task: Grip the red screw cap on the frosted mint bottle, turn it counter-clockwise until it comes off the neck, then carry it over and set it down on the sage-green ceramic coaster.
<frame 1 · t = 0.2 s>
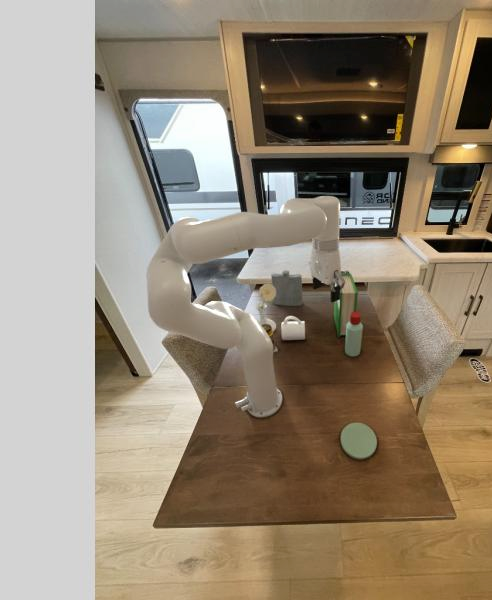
hand: (325, 294, 84), 37 cm above the table, tool pointing down, fingers open, 9 cm apart
bottle: (352, 351, 115), on the table
cap: (355, 315, 104), point 19 cm above the table, screwed on, not yet turned
flower in vase: (266, 330, 127), on the table
hip flask: (288, 304, 147), on the table
condiment: (266, 349, 116), on the table
coaster: (358, 440, 81), on the table
mug: (294, 337, 122), on the table
hardback book: (343, 325, 130), on the table
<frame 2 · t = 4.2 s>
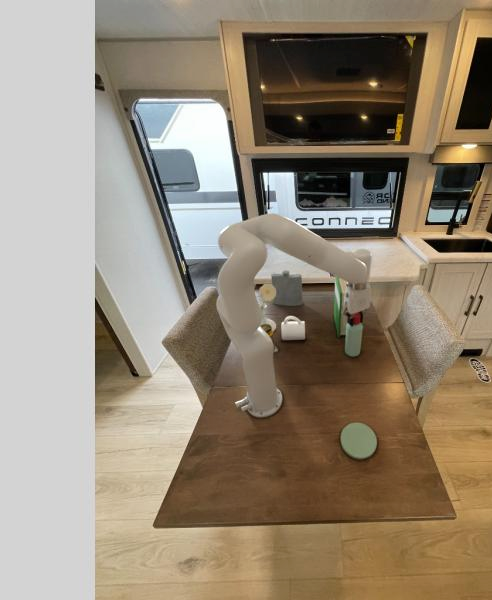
hand: (354, 322, 106), 16 cm above the table, tool pointing down, fingers closed on cap, 3 cm apart
cap: (355, 315, 104), point 19 cm above the table, screwed on, not yet turned, touching gripper
everything else where it was.
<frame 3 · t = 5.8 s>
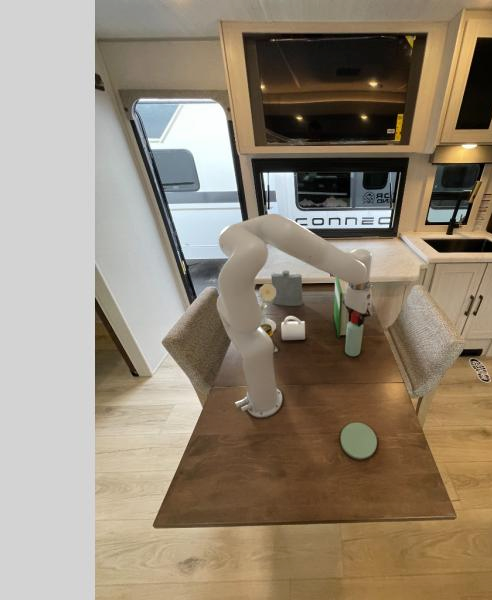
hand: (356, 322, 107), 15 cm above the table, tool pointing down, fingers closed on cap, 3 cm apart
bottle: (352, 351, 115), on the table, touching gripper
cap: (356, 314, 105), point 19 cm above the table, turned 107° so far, risen 0.1 cm, still on its thread, touching gripper
everything else where it was.
when the fingers open (15 cm above the table, at t = 7.6 s): cap stays where it is, point 19 cm above the table.
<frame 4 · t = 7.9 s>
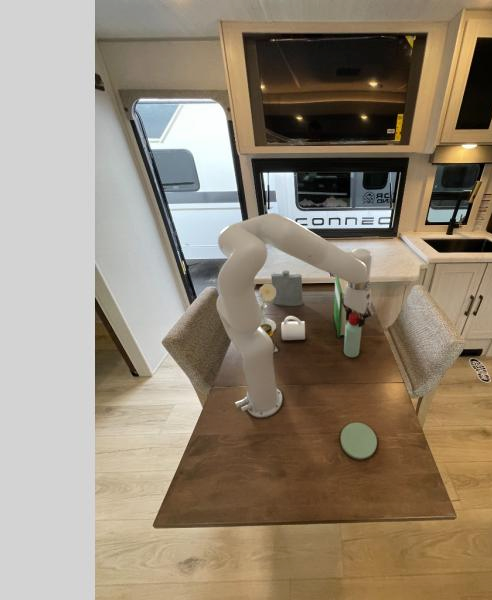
hand: (354, 321, 106), 16 cm above the table, tool pointing down, fingers open, 5 cm apart
bottle: (351, 351, 114), on the table
cap: (354, 315, 104), point 19 cm above the table, turned 107° so far, risen 0.1 cm, still on its thread
everything else where it was.
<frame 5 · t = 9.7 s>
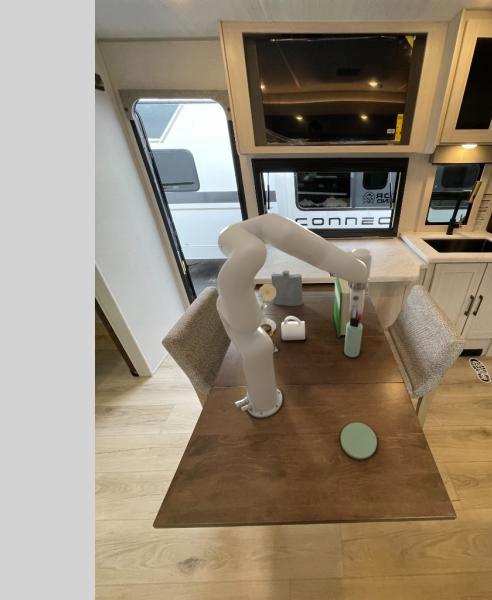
hand: (354, 322, 106), 16 cm above the table, tool pointing down, fingers closed on cap, 4 cm apart
cap: (355, 314, 104), point 19 cm above the table, turned 152° so far, risen 0.2 cm, still on its thread, touching gripper
everything else where it was.
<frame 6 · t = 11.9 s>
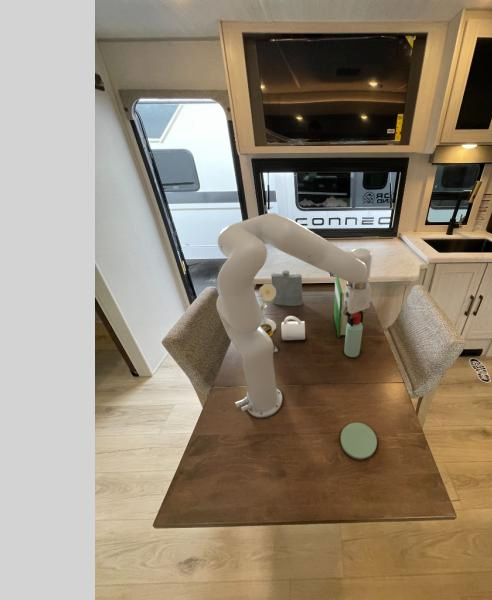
hand: (354, 322, 106), 16 cm above the table, tool pointing down, fingers closed on cap, 3 cm apart
cap: (356, 315, 104), point 19 cm above the table, turned 213° so far, risen 0.2 cm, still on its thread, touching gripper
everything else where it was.
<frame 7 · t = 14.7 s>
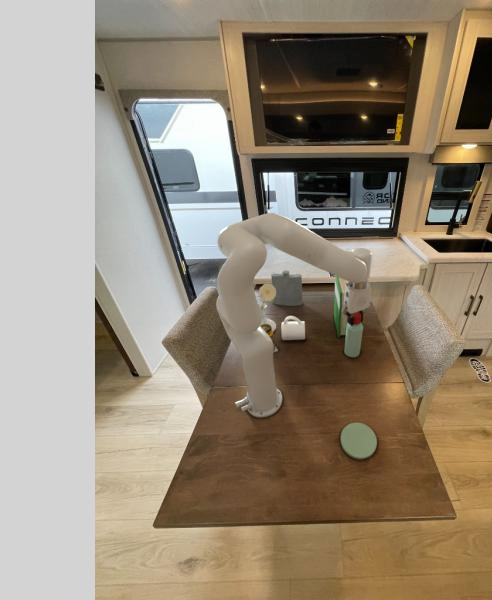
hand: (354, 321, 106), 16 cm above the table, tool pointing down, fingers closed on cap, 4 cm apart
cap: (356, 315, 104), point 20 cm above the table, turned 318° so far, risen 0.3 cm, still on its thread, touching gripper
everything else where it was.
when the fingers open (3 cm above the table, at t = 23.5 s): cap drops 2 cm, resting on coaster.
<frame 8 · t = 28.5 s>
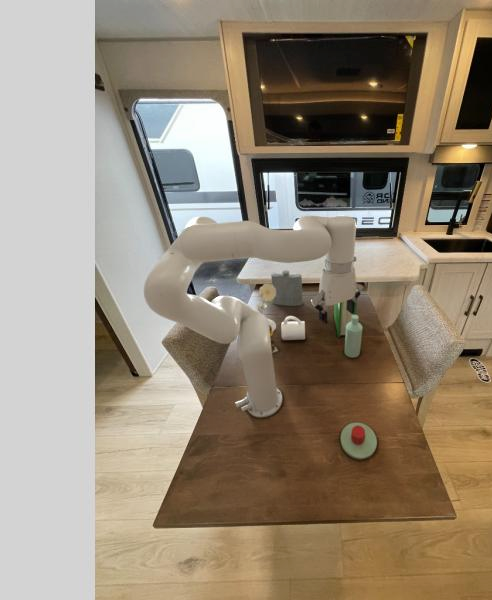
hand: (337, 316, 80), 33 cm above the table, tool pointing down, fingers open, 9 cm apart
cap: (358, 432, 79), point 4 cm above the table, off its thread, touching coaster
everything else where it was.
at the end: cap came off its thread; cap inside the target area on the coaster (0.4 cm from its centre), point 4.3 cm above the coaster's base; the gripper is holding nothing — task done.
